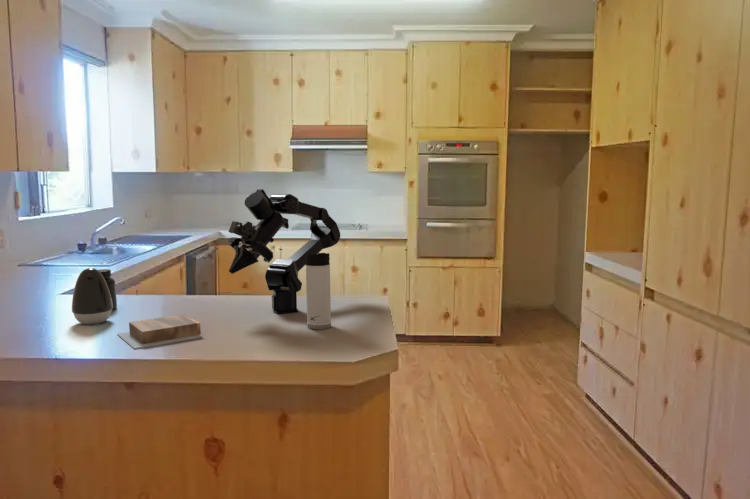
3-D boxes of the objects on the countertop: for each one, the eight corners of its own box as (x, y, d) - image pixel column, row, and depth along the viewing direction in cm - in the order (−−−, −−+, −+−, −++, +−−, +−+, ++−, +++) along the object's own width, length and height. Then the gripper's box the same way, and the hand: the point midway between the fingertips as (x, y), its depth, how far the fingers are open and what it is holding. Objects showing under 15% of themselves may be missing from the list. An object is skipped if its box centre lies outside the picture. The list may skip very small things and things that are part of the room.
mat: (180, 324, 158) (180, 323, 158) (201, 337, 146) (201, 336, 146) (117, 334, 149) (117, 333, 149) (134, 349, 136) (134, 348, 136)
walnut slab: (183, 314, 157) (129, 322, 148) (200, 322, 147) (142, 331, 139) (184, 325, 157) (129, 333, 149) (200, 334, 148) (143, 344, 139)
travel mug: (313, 331, 151) (311, 254, 148) (303, 325, 156) (302, 251, 154) (335, 328, 154) (333, 252, 151) (325, 322, 159) (324, 249, 157)
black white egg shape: (71, 328, 155) (67, 272, 154) (74, 320, 165) (70, 266, 163) (113, 324, 159) (109, 269, 158) (113, 316, 169) (110, 264, 167)
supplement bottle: (97, 307, 182) (95, 268, 180) (120, 306, 182) (117, 268, 181) (88, 312, 175) (85, 272, 173) (112, 311, 175) (109, 271, 174)
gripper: (232, 209, 169) (196, 250, 164) (261, 212, 154) (222, 257, 149) (258, 234, 174) (224, 275, 169) (288, 239, 160) (252, 284, 154)
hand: (230, 272), depth 160 cm, fingers closed
